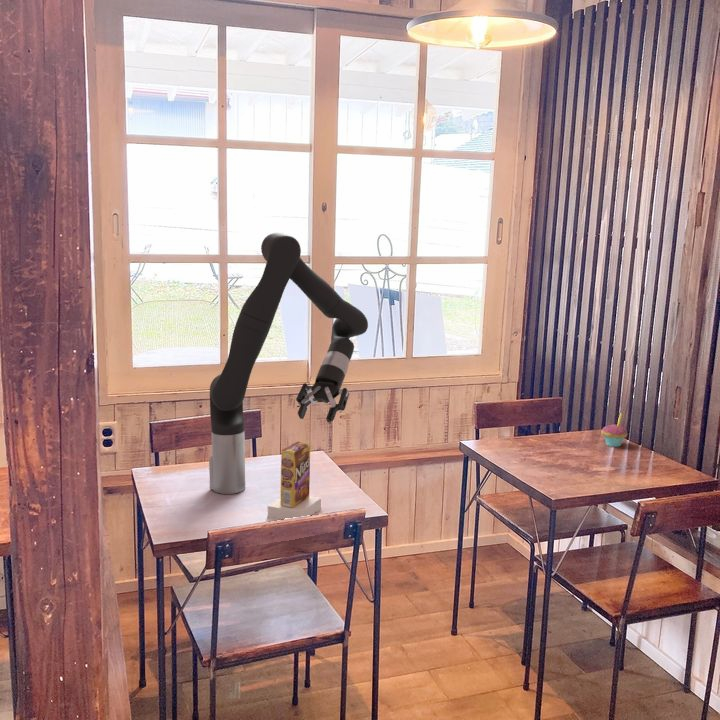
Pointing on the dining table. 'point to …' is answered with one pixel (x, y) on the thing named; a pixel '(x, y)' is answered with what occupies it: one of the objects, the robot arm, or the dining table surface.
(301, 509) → the plate
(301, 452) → the candy box
